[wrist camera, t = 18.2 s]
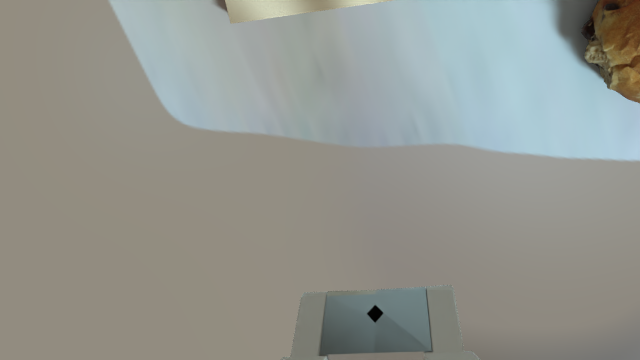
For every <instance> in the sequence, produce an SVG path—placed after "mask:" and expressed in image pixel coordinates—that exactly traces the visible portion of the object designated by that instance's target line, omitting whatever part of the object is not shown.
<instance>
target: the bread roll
mask: <svg viewBox="0 0 640 360" xmlns="http://www.w3.org/2000/svg"><path fill="white" fill-rule="evenodd" d="M581 33H582V34H583V36H584V37H585V38H587V39H588V42H589V44H588V46H587V47H586V51H585V59H586V61H587V62H588V63H594V64H596V65H597V66H598V67H599V68H600V74H601V76H602V77H603V79H604V82H605V83H606V84H607V88H608V89H612V90H614V91H616V92H618V93H620V94H621V95H622V96H624V97H625V98H627V99H629V100H632V101H635V102H638V103H640V0H599V1H598V3H597V5H596V7H595V9H594V11H593V14H592V17H591V18H590V20H589V21H588V22H587V23H586V24H585V25H584V27H583V28H582V32H581ZM617 64H618V65H617Z"/></svg>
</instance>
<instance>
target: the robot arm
mask: <svg viewBox="0 0 640 360" xmlns="http://www.w3.org/2000/svg"><path fill="white" fill-rule="evenodd" d="M281 360H480V359H479V358H478V357H477V356H476V355H475V354H474V353H473V352H471V351H469V352H468V351H464V347H463V341H462V335H461V329H460V324H459V318H458V312H457V306H456V300H455V294H454V288H453V287H452V286H451V285H443V286H428V287H426V288H425V287H414V288H397V289H381V290H361V291H330V292H314V293H313V292H310V293H308V292H307V293H304V294H303V295H302V297H301V300H300V306H299V312H298V317H297V323H296V328H295V334H294V339H293V345H292V351H291V356H290V357H283V358H282V359H281Z"/></svg>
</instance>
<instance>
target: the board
mask: <svg viewBox="0 0 640 360" xmlns="http://www.w3.org/2000/svg"><path fill="white" fill-rule="evenodd" d="M385 1H392V0H225V2H226V6H227V10H228V14H229V18H230V22H231V24H232V23H239V22H246V21H253V20H260V19H267V18H274V17H280V16H287V15H294V14H301V13H308V12H315V11H322V10H329V9H336V8H343V7H350V6H357V5H364V4H371V3H378V2H385Z"/></svg>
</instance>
